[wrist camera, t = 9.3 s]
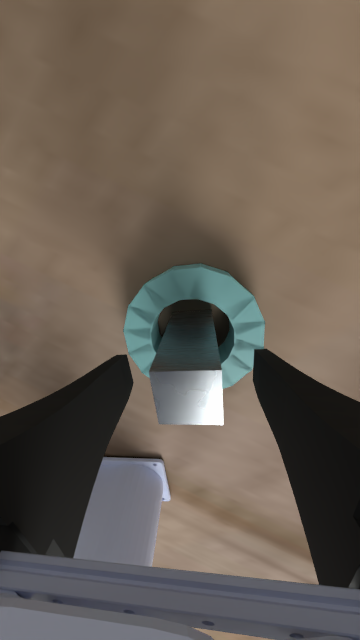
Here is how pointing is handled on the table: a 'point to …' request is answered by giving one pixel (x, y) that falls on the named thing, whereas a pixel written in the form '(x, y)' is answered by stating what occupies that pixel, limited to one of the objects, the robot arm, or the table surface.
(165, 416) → the dark metal rectangular bar
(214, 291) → the teal creased ring
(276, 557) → the table surface
